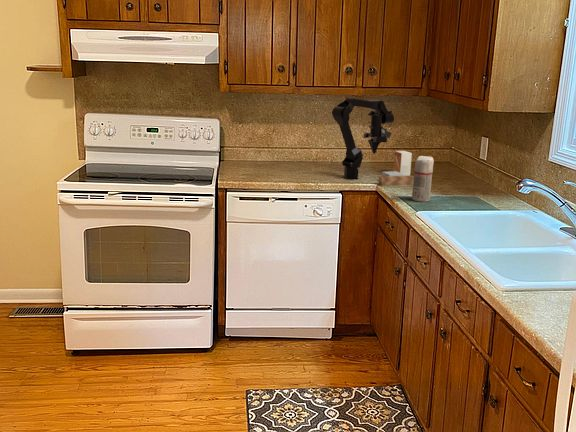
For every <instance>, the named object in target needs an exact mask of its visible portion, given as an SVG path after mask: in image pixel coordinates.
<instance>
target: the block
mask: <svg viewBox="0 0 576 432" xmlns="http://www.w3.org/2000/svg"><path fill="white" fill-rule="evenodd" d="M383 176H404V174H402V173H399V172H397V171H392V170H391V171H382V173H381V177H383Z"/></svg>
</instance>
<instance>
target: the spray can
mask: <svg viewBox="0 0 576 432" xmlns="http://www.w3.org/2000/svg"><path fill="white" fill-rule="evenodd" d="M434 162H435V161H434V158H433V156H427V155H426V156H424V155H419V156H418V157H417V158H416V160H415V162H414V170H413V171H414V172H413V176H414V182H413V184H412V185H413V186H412V192H411V193H412V194H411V200H412V201H415V202H422V203H423V202H430V200H431V199H430V198H431V187H432V178H433V172H434V171H433V170H434V164H435V163H434Z"/></svg>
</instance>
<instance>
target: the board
mask: <svg viewBox="0 0 576 432" xmlns="http://www.w3.org/2000/svg"><path fill="white" fill-rule="evenodd" d="M413 182H414V175H411V174H410V175H409V176H383V177H382V176H378V185H379V186H382V187H383V186H404V185H405V186H406V185H408V186H409V185H413Z"/></svg>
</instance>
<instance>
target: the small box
mask: <svg viewBox="0 0 576 432" xmlns="http://www.w3.org/2000/svg"><path fill="white" fill-rule="evenodd" d="M412 155H413V153H412V152H409V151H407V150H394V160H393V171H397V172H399V173H402V174H404V176H409V175H411V171H412V170H411V169H412V157H413V156H412Z"/></svg>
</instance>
